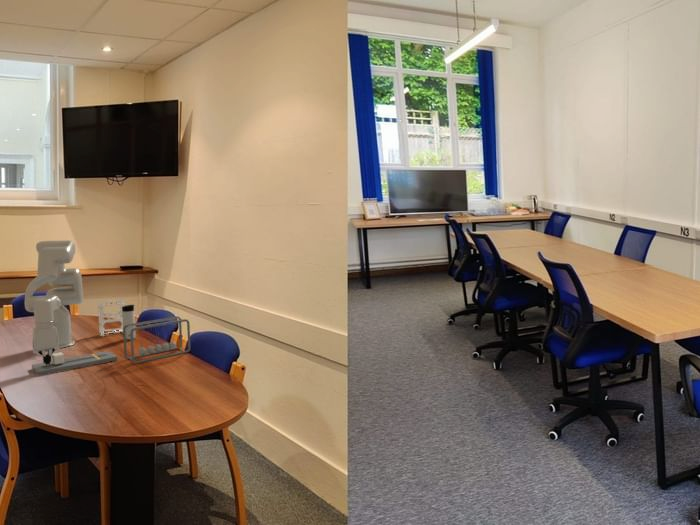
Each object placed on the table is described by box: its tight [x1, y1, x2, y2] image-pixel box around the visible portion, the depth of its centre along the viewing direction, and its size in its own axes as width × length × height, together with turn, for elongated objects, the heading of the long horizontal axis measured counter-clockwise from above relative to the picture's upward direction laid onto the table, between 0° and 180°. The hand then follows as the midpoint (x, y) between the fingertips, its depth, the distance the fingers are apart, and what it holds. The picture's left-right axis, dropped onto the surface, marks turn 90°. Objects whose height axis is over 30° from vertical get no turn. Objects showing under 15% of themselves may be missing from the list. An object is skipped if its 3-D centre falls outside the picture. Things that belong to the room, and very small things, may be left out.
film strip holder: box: [97, 299, 126, 337], centre depth 300 cm, size 14×14×20 cm
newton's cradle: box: [122, 315, 191, 365], centre depth 255 cm, size 30×10×18 cm, turn 134°
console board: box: [31, 350, 118, 377], centre depth 242 cm, size 13×34×2 cm, turn 132°
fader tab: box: [51, 352, 65, 365], centre depth 237 cm, size 5×4×4 cm
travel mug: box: [122, 304, 137, 342], centre depth 286 cm, size 6×7×20 cm
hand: (47, 363), depth 234 cm, fingers closed
